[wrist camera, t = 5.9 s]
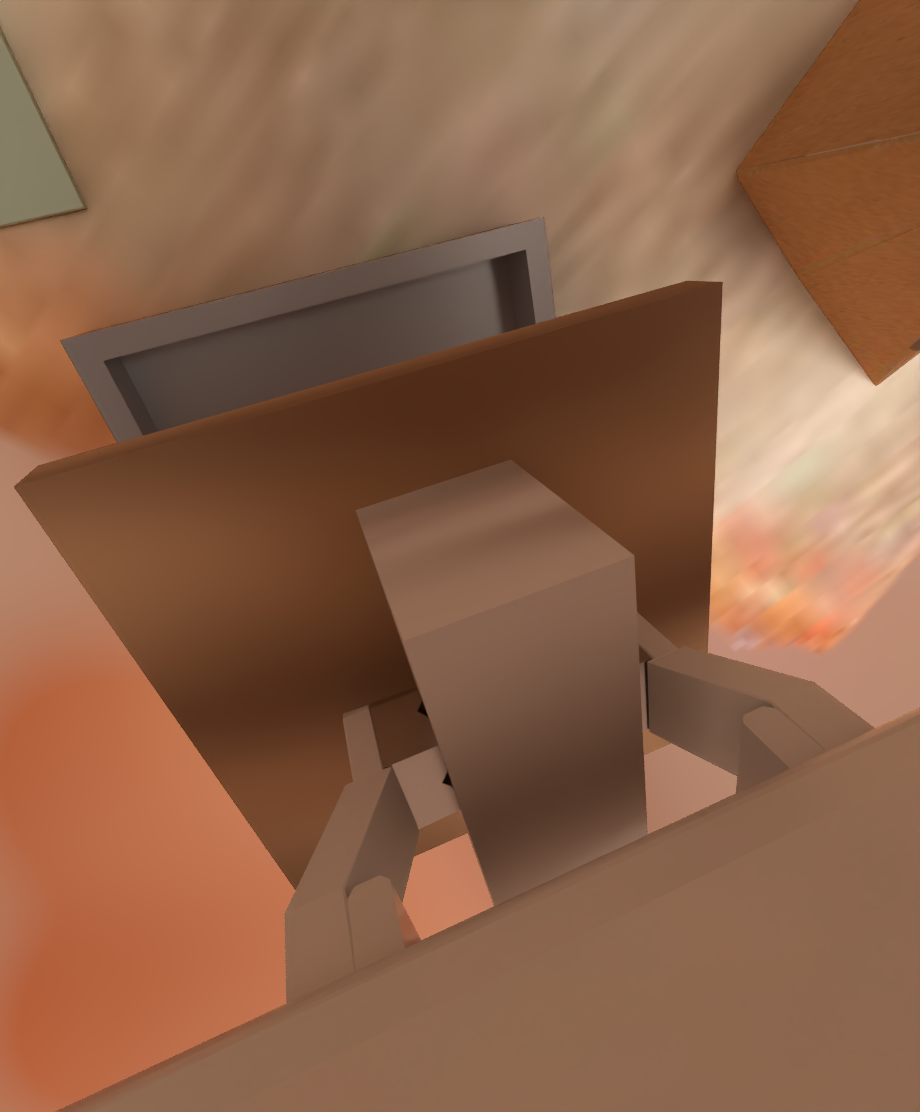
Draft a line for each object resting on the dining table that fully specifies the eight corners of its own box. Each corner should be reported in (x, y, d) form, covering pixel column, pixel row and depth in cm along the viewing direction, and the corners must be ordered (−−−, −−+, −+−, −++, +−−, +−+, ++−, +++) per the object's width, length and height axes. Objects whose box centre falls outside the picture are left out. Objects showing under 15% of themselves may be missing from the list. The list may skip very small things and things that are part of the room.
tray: (84, 333, 18) (60, 340, 16) (515, 223, 20) (543, 217, 18) (267, 675, 26) (268, 711, 24) (562, 566, 28) (586, 589, 26)
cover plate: (38, 465, 9) (-176, 650, 4) (685, 280, 11) (962, 289, 6) (303, 868, 15) (317, 1106, 11) (682, 705, 17) (822, 852, 13)
